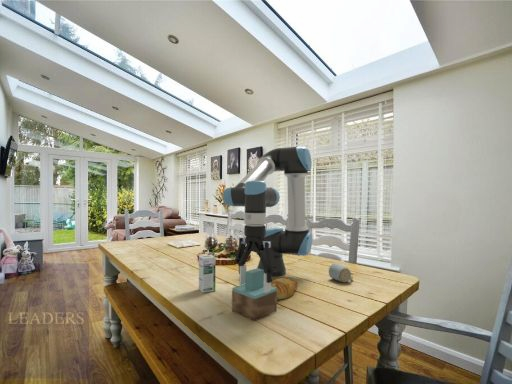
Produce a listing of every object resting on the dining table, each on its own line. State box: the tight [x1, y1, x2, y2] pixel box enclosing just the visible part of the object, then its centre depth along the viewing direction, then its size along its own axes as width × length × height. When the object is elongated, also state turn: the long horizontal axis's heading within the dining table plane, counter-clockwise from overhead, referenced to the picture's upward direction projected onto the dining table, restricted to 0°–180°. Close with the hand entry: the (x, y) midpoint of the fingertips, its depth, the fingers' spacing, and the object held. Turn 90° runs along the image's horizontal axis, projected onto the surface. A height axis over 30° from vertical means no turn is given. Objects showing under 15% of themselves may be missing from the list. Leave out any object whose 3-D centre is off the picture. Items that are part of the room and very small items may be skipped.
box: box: [231, 290, 278, 322], centre depth 96 cm, size 11×11×7 cm
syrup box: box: [198, 254, 216, 294], centre depth 117 cm, size 6×6×14 cm
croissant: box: [271, 277, 298, 301], centre depth 112 cm, size 21×10×8 cm, turn 139°
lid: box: [231, 268, 277, 299], centre depth 96 cm, size 11×11×9 cm
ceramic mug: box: [328, 262, 354, 283], centre depth 132 cm, size 11×8×8 cm
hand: (254, 287), depth 96 cm, fingers open, 11 cm apart
